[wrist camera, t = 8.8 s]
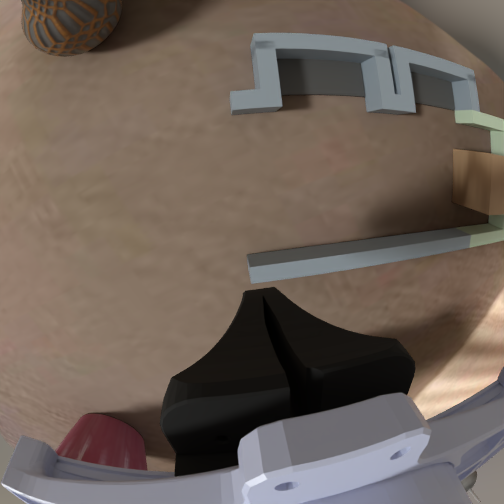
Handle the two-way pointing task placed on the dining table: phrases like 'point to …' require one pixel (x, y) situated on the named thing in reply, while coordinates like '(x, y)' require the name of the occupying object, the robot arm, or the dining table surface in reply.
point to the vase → (69, 24)
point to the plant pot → (104, 443)
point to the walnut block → (478, 181)
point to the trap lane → (377, 100)
